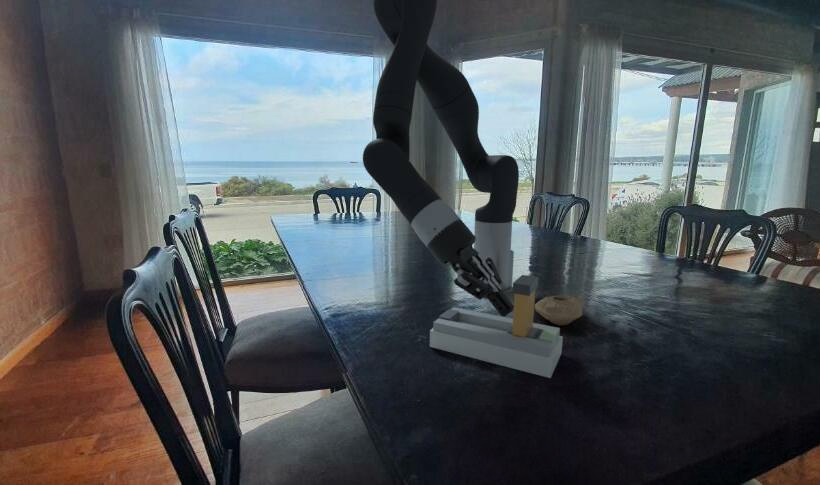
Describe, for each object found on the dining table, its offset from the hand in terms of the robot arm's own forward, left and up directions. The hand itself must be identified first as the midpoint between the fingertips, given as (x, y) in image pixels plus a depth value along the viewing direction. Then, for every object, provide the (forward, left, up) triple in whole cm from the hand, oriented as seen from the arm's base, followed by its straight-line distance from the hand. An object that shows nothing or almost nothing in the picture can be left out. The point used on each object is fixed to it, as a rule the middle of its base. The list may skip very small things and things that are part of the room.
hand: (509, 312), depth 64 cm
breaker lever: (-1, +2, -4) cm, 5 cm away
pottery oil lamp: (-20, -7, -7) cm, 22 cm away
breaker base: (+1, -2, -7) cm, 7 cm away
